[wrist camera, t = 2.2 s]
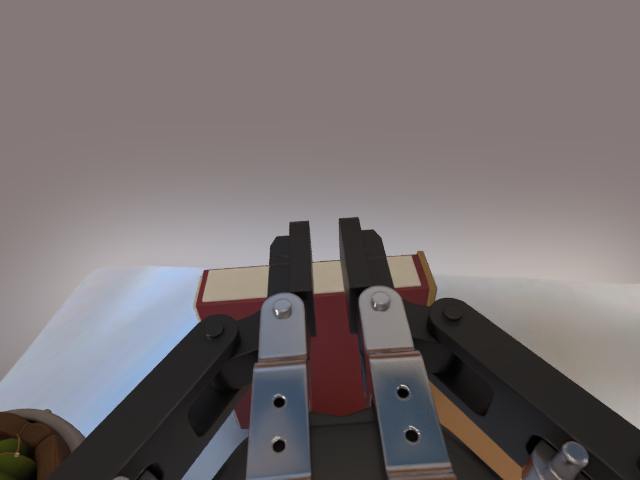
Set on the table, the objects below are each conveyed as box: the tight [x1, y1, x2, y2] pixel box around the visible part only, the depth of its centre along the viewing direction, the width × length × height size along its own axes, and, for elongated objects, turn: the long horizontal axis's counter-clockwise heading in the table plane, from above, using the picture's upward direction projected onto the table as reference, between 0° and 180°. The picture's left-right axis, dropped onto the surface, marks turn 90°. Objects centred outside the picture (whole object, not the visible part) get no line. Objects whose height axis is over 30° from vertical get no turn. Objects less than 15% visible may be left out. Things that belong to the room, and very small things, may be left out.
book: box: [193, 251, 522, 480], centre depth 30 cm, size 23×20×16 cm
